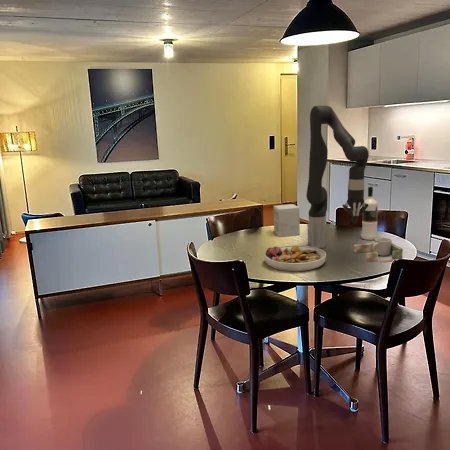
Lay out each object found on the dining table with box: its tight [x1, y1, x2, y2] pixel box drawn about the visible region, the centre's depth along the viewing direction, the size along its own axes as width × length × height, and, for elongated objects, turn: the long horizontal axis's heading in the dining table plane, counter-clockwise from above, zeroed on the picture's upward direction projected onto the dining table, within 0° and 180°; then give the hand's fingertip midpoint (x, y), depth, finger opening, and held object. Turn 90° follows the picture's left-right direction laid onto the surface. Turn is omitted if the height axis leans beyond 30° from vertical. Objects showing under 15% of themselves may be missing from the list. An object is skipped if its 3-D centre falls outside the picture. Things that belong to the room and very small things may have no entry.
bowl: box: [263, 245, 327, 272], centre depth 216 cm, size 30×30×8 cm
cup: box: [372, 237, 393, 257], centre depth 220 cm, size 11×8×8 cm
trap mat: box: [379, 258, 394, 263], centre depth 211 cm, size 7×2×1 cm, turn 97°
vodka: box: [360, 186, 379, 241], centre depth 249 cm, size 9×9×30 cm
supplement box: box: [273, 203, 301, 238], centre depth 271 cm, size 13×13×18 cm
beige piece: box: [353, 242, 403, 263], centre depth 220 cm, size 18×17×5 cm
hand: (354, 222), depth 216 cm, fingers closed
